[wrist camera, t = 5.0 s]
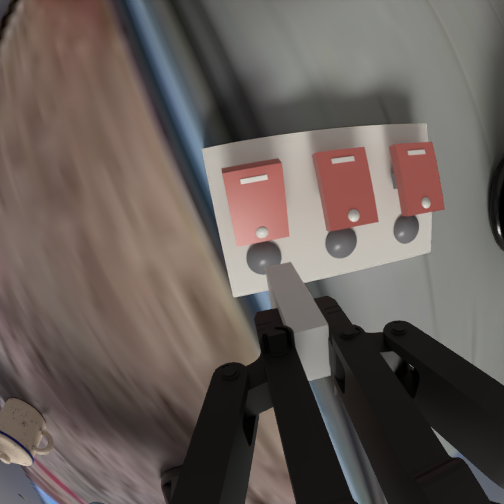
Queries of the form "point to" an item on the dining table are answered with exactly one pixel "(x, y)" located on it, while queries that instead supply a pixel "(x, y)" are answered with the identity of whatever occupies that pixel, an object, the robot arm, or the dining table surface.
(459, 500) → the robot arm
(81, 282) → the dining table surface
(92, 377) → the dining table surface
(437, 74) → the dining table surface
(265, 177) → the rocker
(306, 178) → the power strip
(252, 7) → the dining table surface
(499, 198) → the amphora vase
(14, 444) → the teacup with lid
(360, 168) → the rocker
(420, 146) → the rocker
